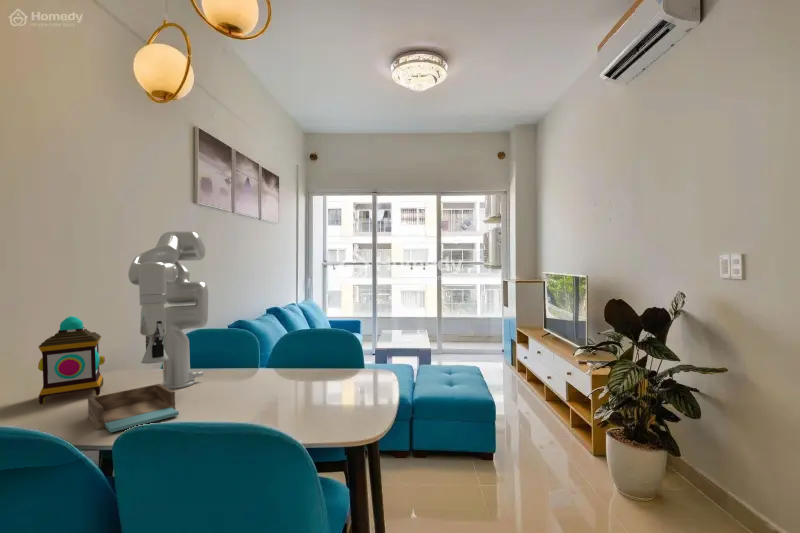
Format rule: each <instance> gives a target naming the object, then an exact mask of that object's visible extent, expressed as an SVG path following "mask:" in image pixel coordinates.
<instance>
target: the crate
mask: <svg viewBox="0 0 800 533" xmlns="http://www.w3.org/2000/svg"><path fill="white" fill-rule="evenodd" d="M175 392H176V391H174V390H173V389H169V388H167V387H165V386H163V385H161V383H155V384H151V385H147V386H140V387H136V388H132V389H126V390H121V391H118V392H117V391H116V392H112V393H107V394H103V395H102V394H101V395H98V396H96V395H95V396H91V397H87V406H88V407H87V408H88V409H87V410H88V411H87V412H88V419H89V420H90V421H91V422H92V424H93V425H94V426H95V427H96V429H98V430H102V429H107V428H106V427H105V423H108V422H112V421H116V420H120V419H124V418H128V417H132V416H136V415H140V414H145V413H149V412H153V411H157V410H161V409H165V408H169V407H171V408H173V409H175V410H176V395H175V394H176V393H175Z"/></svg>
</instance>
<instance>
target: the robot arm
mask: <svg viewBox="0 0 800 533" xmlns="http://www.w3.org/2000/svg"><path fill="white" fill-rule="evenodd" d="M205 256H206V246H205V244H204V241H203V240H202V238H201V236H200V235H199V234H198V233H197V232H194V231H168V232H167V231H166V232H164V233H163V234H162V235H161V236H160V237H159V239H158V241H157V243H156V245H155V247H153V248H151V249H148V250H146V251H144V252H142V253H140V254H138V255H137V256H135V257H134V259H133V260H132V262H131V264H130V266H129V269H128V276H127V277H128V280H129V282H130V283H131V284H132V285H135V286H138V287H139V288H138V291H139V292H138V293H139V306H141V309H140V332H139V333H140V334H141V336H144V337H145V350H146V349H147V346H148V343H149V336H151V335H152V340H153V345H152V358H157V357H163V356H164V350H165V352H166V354H167V356H168V360H166V361H164V362H162V379H163V380H162V381H163V382H161V383H160V384H161V385H163V386H165V387H167V388H169V389H171V390H176V389H182V388H185V387H190V386H192V385H193V384H195V383H196V380H195V378H198V377H199V378H200V377H203V376H204V372H203V370H202V371H194V372H193V371H191V362H190V360H191V359H190V358H191V357H190V355H191V354H190V339H189V337H188V336H187V334H186V333H185V332H184V331H183V330H190V329H192V330H193V329H200V328H201V329H202V328H204V327H206V325H207V323H208V320H209V319H208V318H209V288H208V285H207V284H206V283H205V282H204V281H199V280H198V281H196V280H195V281H190V272H189V270H188V269H187V268H186V267H185V265H183V264H182V263H180V261H181V262H182V261H183V262H185V261H187V262H188V261H189V262H190V261H201V260H203V259H204V258H205ZM167 304H168V305H170V306H165V305H167ZM171 305H172V306H171ZM154 334H158V335H154ZM155 337H156V340H155Z"/></svg>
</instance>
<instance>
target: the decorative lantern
mask: <svg viewBox="0 0 800 533" xmlns="http://www.w3.org/2000/svg"><path fill="white" fill-rule="evenodd" d="M101 338H102V336H101V335H100V334H99V333H97V332H91V331H90V330H88V329H87V328H85V326H84V323H83V321H82V320H81V319H80V318H78V317H76V316H72V315H70V316H67V317H66V318H65V319H63V320H62V321H61V322H60V324H59V329H58V331H57V332H56V333H55V334H54V335H51V336H50V337H48V338H46V339H45V340H44V341H43V342H41V344H40V345H38V349H39V351H40V352H41V354H42V357H41V358H40V359H39V362H38V366H37V367H38V370H39V371H40V372H42V384H43V386H42V389H41V390H40V392H39V394H38V404H39V405H41V406H43V405H45V402H46V398H47V397H51V396H52V397H53V396H58V395H63V394H70V393H71V394H72V393H79V392H82V391H84V392H85V391H90V390H93V391H94V393H95V394H94V395H95V397H96V396H100V394H101V388H102V387H103V386H104V378H103V375H102V374H101V372H100V366H101V365H104V364H105V361H106V359H105V356H103V355H100V352H99V351H100V350H99V343H100V341H101ZM42 404H43V405H42Z"/></svg>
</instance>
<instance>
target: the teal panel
mask: <svg viewBox="0 0 800 533" xmlns="http://www.w3.org/2000/svg"><path fill="white" fill-rule="evenodd" d="M179 414H180V413H179V410H177V409H176V408H175V409H173V408H171V407H169V408H165V409H161V410H157V411H153V412H149V413H145V414H140V415H136V416H132V417H128V418H124V419H120V420H116V421H112V422H108V423H105V427H106V428H105V429H106V430H107V431H108V432H109V433H115V432H118V431H123V430H127V429H130V428H134V427H137V426H136V425H138V426H141V424H142V425H144V424H150V423H153V422H157V421H160V420H164V419H168V418H172V417H175V416H176V417H177V416H179ZM133 426H134V427H133Z"/></svg>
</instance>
